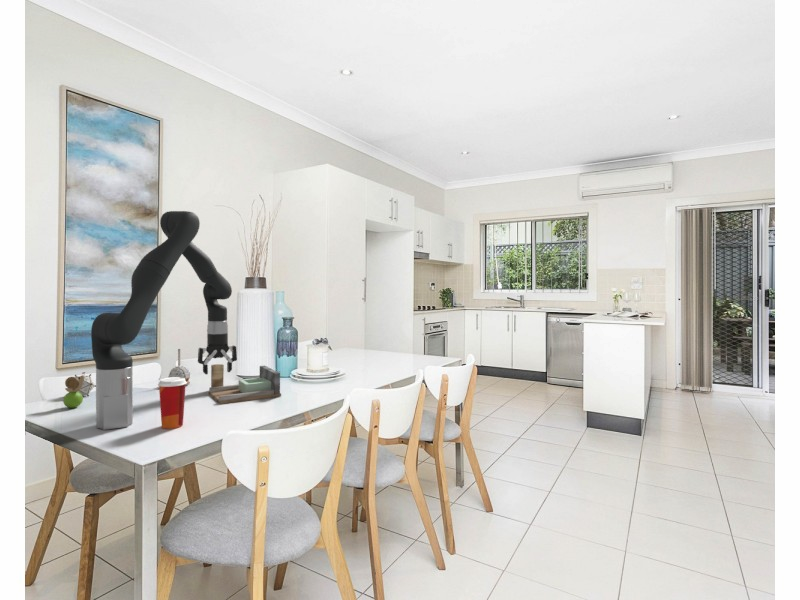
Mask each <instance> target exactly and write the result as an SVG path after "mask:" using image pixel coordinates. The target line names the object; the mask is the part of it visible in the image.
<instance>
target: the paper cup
mask: <svg viewBox="0 0 800 600" xmlns="http://www.w3.org/2000/svg"><path fill="white" fill-rule="evenodd" d="M186 383H187V382H186V381H185V378H181V377H170V378H168V377H165V378H161V379H159V381H158V383H157V386H158V388H159V389H158V390H159V391H158V392H159V393H158V394H159V405H160V406H159V407H160V408H159V409H160V418H161V419H160V421H161V429H164V430H173V429H178V428H180V427H183V425H184V413H185V398H186V386H187V385H186Z"/></svg>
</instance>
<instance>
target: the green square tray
mask: <svg viewBox="0 0 800 600" xmlns="http://www.w3.org/2000/svg"><path fill="white" fill-rule="evenodd" d="M238 384H239V391H240V392H242V393H248V392H256V391H264V390H271V382H270V381H269V380H267V379H265V378H263V377H262V378H260V377H254V378H245V379H238Z"/></svg>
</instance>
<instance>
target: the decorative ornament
mask: <svg viewBox="0 0 800 600" xmlns="http://www.w3.org/2000/svg"><path fill="white" fill-rule="evenodd" d="M177 355H178V356H177V364H178V365H177V366H174V367H172V369H170V371H169V374H168V377H167V378H170V377H181V378H185V381H186V382H187V383H186V385H185V386H189V385H190V383H191V381H189V380H190V379H191V376H190V375H191V372H190V371H189V369H188V368H187V367H186V366H184V365H181V349H180V348H178V349H177Z"/></svg>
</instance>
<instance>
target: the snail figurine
mask: <svg viewBox="0 0 800 600" xmlns="http://www.w3.org/2000/svg"><path fill="white" fill-rule="evenodd" d="M81 373H82V375H79V376H80V382H79V380H78V379H77V378H76V377H75V376H70V377H68V378H66V379H65V382H64V384H65V387H66V388H64V389H65V391H66V392H67V393H65V395H64V397H63V399H62V402H63V405H64V406H65V407H67V408H71V409H74V408H77V407H79V406H80V405H81V404H82V403H83V400H84V397H83V396H84V395H82V394H81V393H79V392H77V391H79V390H80V389H81V388H82V386H83V383H84V379H85V376H86V375H85V374H86V371H84V372H81Z"/></svg>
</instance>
